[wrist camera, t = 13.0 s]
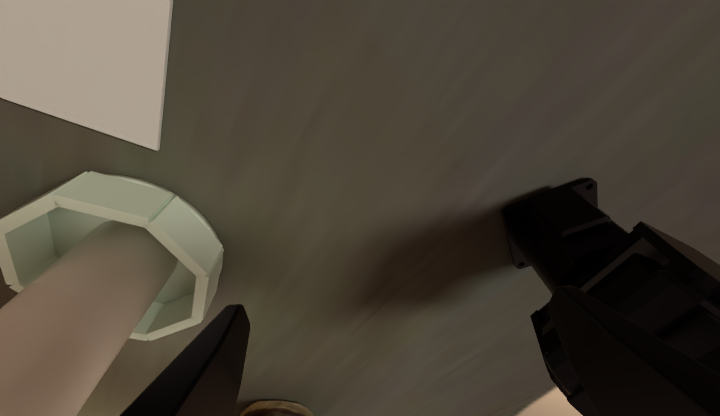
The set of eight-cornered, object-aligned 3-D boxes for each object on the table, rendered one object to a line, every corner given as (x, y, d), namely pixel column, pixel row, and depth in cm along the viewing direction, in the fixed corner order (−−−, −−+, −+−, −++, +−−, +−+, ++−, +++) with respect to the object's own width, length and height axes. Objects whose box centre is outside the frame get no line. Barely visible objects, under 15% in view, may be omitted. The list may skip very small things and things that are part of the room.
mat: (176, -33, 15) (173, -33, 14) (159, 149, 19) (156, 150, 19) (-88, -159, 12) (-98, -163, 12) (-33, 83, 17) (-38, 84, 17)
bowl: (254, 273, 26) (242, 308, 22) (140, 317, 28) (114, 353, 25) (137, 143, 19) (98, 167, 16) (2, 215, 22) (-54, 247, 19)
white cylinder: (190, 246, 23) (67, 428, 13) (161, 290, 25) (37, 472, 15) (105, 204, 21) (-124, 384, 11) (81, 256, 23) (-124, 444, 13)
